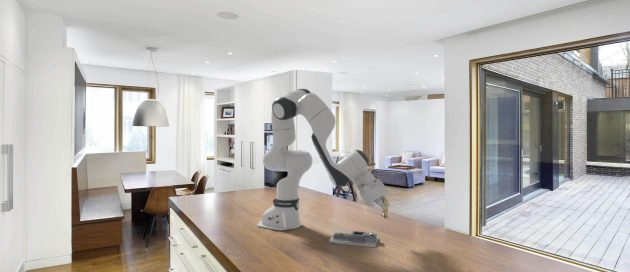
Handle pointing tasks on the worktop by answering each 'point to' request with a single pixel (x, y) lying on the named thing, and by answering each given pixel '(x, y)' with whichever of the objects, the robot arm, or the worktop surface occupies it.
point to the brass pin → (385, 211)
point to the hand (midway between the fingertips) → (386, 207)
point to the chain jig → (355, 238)
